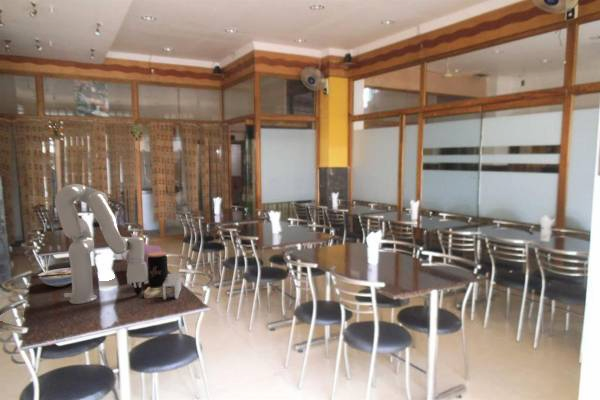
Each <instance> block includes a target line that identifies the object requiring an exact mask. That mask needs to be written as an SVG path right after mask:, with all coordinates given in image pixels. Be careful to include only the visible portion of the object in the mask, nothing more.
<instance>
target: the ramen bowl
mask: <svg viewBox="0 0 600 400" xmlns="http://www.w3.org/2000/svg"><path fill="white" fill-rule="evenodd" d="M31 278H32V279H37V278H38V279H39V280H40V281H41V282H42V283H43V284H45V285H47V286H51V287H52V286H53V287H56V288H59V287H60V288H61V287H66V286H68V285H69V284H70V285H71V284H72V277H71V267H65V268H64V267H63V268H56V269H50V270H47V271H43V272H41V273H39V274H37V275H33V276H31Z"/></svg>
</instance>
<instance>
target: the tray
mask: <svg viewBox="0 0 600 400" xmlns="http://www.w3.org/2000/svg"><path fill="white" fill-rule="evenodd" d="M174 291H175V288H168V287H166V294H170V293H174ZM143 298H144V299H151V298H153V299H154V298H163V287H160V288H159V287H158V288H151V286H148V287H147V288H146V289H145V290H144V291H143Z"/></svg>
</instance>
